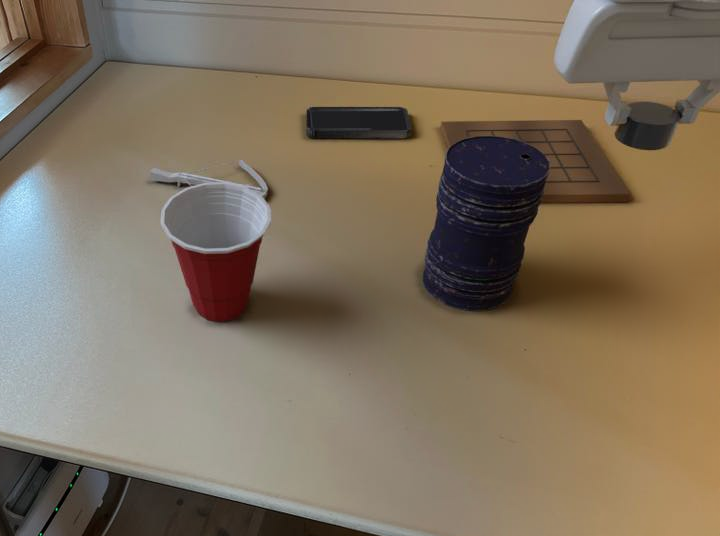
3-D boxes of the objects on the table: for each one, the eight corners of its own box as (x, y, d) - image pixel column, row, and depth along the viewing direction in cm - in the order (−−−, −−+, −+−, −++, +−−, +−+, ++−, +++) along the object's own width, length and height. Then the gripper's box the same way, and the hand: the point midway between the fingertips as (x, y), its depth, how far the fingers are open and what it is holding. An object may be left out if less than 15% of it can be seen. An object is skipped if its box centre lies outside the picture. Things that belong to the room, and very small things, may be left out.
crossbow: (278, 177, 97) (279, 164, 96) (252, 228, 88) (252, 214, 87) (169, 156, 100) (168, 143, 98) (133, 203, 91) (132, 189, 90)
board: (578, 127, 103) (581, 118, 102) (627, 202, 89) (631, 193, 88) (439, 129, 104) (441, 120, 103) (466, 203, 90) (468, 194, 89)
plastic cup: (180, 348, 72) (168, 252, 64) (164, 284, 80) (152, 190, 71) (283, 330, 74) (284, 233, 65) (258, 268, 81) (256, 175, 73)
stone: (657, 125, 71) (667, 100, 69) (678, 150, 68) (689, 124, 66) (607, 126, 71) (615, 101, 70) (625, 151, 68) (634, 125, 66)
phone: (306, 106, 108) (406, 106, 107) (306, 113, 108) (405, 113, 107) (306, 131, 102) (412, 131, 101) (306, 138, 103) (411, 138, 102)
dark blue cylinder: (439, 317, 75) (467, 192, 64) (408, 261, 81) (429, 141, 71) (529, 304, 76) (571, 180, 65) (491, 251, 82) (523, 130, 72)
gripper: (816, -51, 61) (742, 105, 70) (573, -44, 61) (532, 110, 71) (861, -28, 56) (774, 135, 66) (598, -20, 57) (550, 140, 67)
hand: (647, 122), depth 68 cm, fingers closed on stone, 5 cm apart
